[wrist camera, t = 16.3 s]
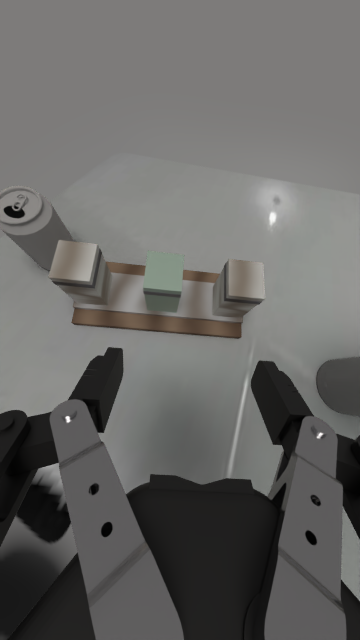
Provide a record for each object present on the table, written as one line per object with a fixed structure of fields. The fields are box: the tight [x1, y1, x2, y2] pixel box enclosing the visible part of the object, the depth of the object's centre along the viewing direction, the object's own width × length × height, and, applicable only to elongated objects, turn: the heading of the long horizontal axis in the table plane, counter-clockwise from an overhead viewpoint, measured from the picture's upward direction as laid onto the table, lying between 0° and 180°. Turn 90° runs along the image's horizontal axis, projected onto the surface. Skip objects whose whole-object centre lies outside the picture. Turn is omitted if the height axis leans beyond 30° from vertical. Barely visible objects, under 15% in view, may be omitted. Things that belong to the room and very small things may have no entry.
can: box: [0, 186, 75, 270], centre depth 32 cm, size 8×8×12 cm
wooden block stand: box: [49, 240, 265, 338], centre depth 32 cm, size 29×12×11 cm, turn 86°
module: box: [143, 251, 184, 313], centre depth 31 cm, size 5×6×9 cm
